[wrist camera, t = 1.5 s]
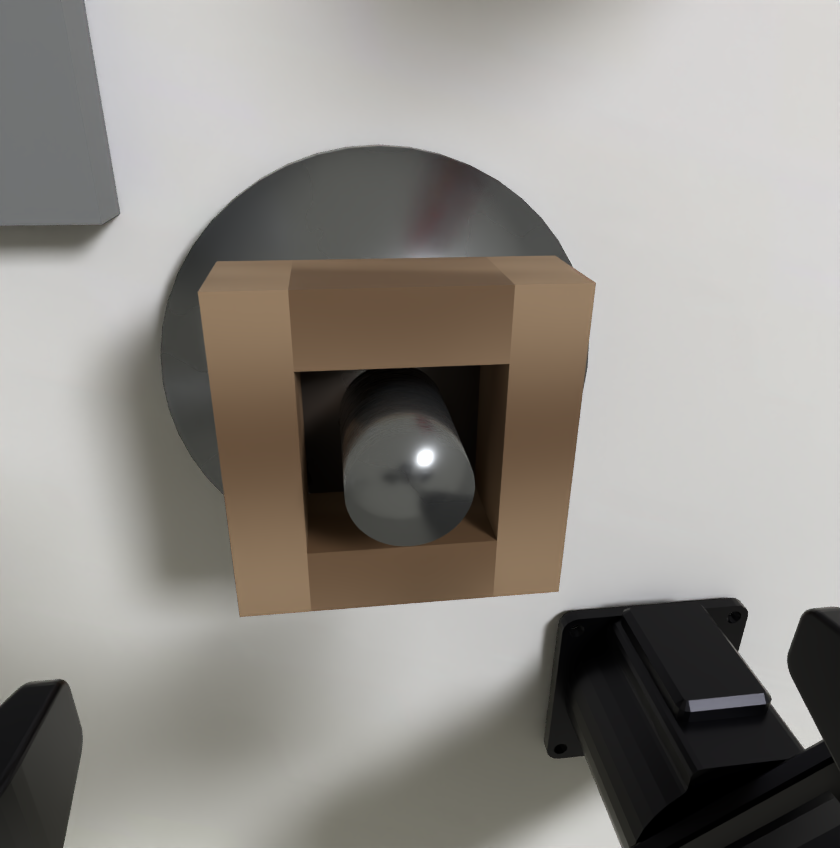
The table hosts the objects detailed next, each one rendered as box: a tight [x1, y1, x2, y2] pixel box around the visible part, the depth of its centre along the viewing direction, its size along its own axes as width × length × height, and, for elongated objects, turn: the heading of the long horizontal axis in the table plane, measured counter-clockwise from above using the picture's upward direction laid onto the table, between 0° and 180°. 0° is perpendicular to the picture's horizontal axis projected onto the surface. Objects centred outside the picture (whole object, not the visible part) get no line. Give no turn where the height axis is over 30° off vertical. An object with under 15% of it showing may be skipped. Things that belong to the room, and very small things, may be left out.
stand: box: [161, 145, 589, 546], centre depth 16 cm, size 11×11×6 cm
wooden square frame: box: [198, 256, 596, 617], centre depth 15 cm, size 7×7×2 cm
